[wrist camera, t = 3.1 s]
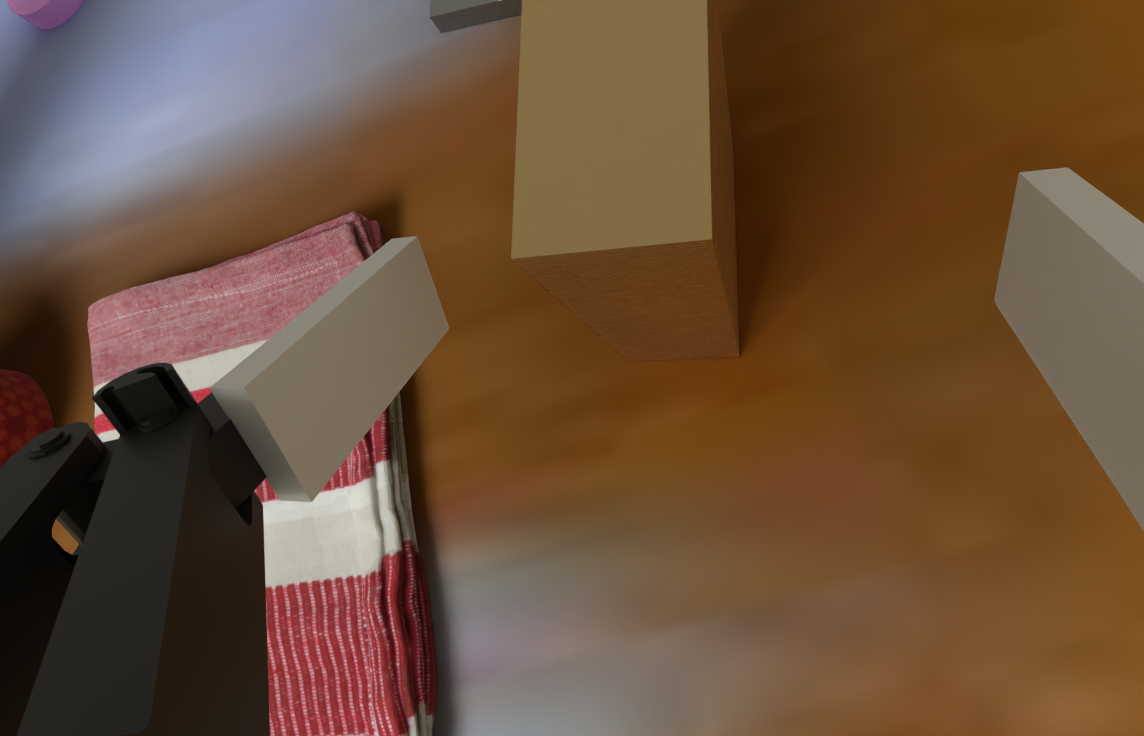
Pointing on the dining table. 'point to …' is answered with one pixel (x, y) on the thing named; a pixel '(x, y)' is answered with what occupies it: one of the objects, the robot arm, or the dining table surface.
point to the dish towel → (302, 529)
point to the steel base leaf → (471, 12)
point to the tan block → (629, 172)
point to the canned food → (20, 412)
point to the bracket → (45, 11)
